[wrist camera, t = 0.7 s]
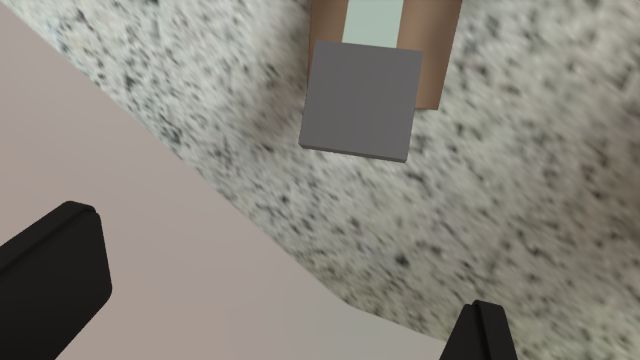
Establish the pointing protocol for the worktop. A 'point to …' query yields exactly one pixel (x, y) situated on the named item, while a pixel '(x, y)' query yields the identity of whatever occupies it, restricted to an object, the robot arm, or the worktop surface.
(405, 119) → the press lever
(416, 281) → the worktop surface
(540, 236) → the worktop surface
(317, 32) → the press base
